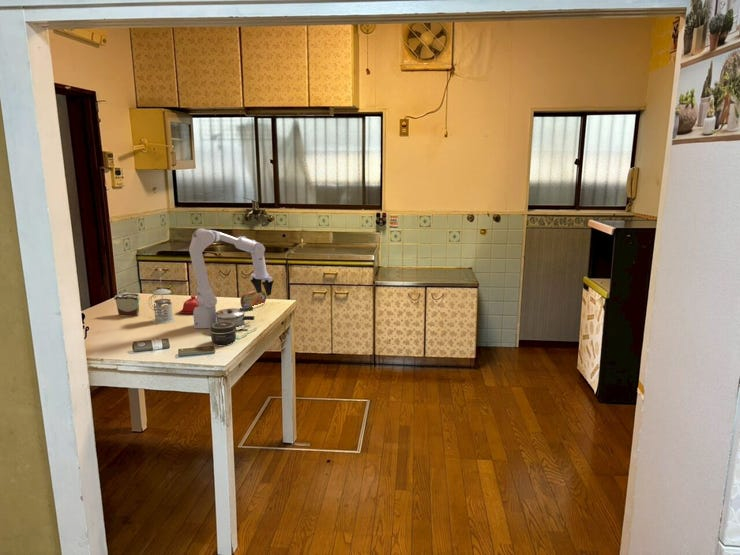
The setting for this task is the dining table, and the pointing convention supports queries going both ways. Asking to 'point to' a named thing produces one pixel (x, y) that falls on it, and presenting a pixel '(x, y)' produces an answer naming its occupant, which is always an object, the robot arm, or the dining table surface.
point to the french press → (162, 307)
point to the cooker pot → (237, 320)
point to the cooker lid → (232, 312)
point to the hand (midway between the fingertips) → (264, 293)
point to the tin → (252, 299)
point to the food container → (127, 304)
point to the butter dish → (190, 305)
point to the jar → (223, 333)
